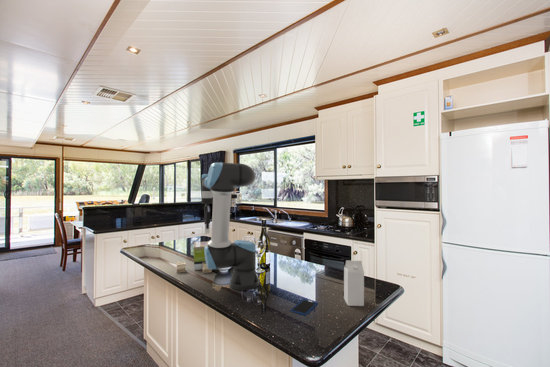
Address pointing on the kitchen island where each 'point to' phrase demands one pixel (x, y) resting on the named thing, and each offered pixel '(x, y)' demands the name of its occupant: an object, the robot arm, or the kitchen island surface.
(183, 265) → the marked block
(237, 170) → the robot arm
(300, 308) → the cell phone
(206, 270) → the marked block
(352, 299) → the milk carton
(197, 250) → the tea box
